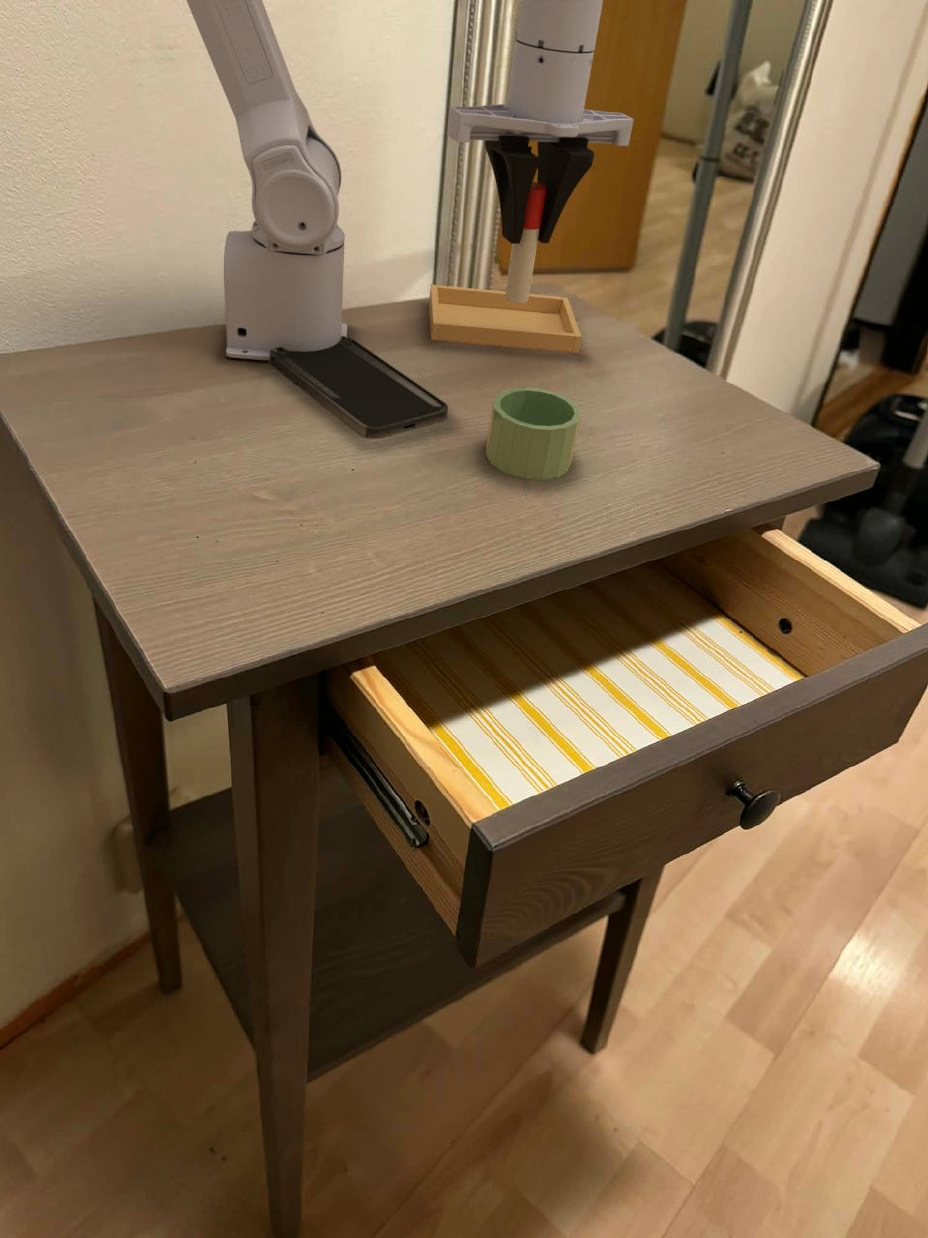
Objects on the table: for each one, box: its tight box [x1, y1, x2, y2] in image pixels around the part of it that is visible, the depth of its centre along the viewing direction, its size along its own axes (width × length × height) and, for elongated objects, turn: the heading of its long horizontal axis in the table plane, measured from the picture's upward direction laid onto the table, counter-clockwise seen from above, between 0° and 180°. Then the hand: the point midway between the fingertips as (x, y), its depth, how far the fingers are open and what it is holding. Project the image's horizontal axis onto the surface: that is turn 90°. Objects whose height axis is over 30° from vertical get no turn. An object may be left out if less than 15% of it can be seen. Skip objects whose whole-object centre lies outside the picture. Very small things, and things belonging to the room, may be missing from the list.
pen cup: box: [485, 386, 582, 481], centre depth 68 cm, size 6×6×4 cm
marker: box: [504, 181, 547, 303], centre depth 76 cm, size 2×2×9 cm
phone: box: [269, 336, 449, 440], centre depth 74 cm, size 8×1×15 cm
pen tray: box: [428, 284, 582, 354], centre depth 87 cm, size 13×9×2 cm
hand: (525, 239), depth 76 cm, fingers closed on marker, 2 cm apart
